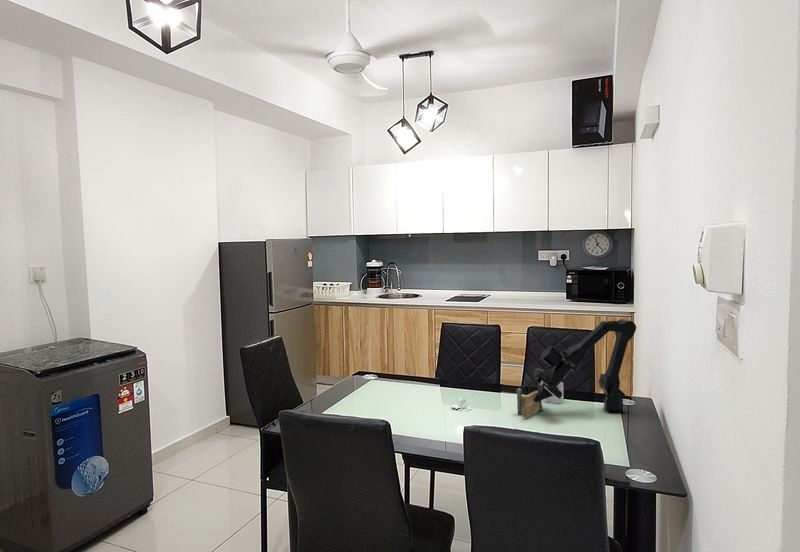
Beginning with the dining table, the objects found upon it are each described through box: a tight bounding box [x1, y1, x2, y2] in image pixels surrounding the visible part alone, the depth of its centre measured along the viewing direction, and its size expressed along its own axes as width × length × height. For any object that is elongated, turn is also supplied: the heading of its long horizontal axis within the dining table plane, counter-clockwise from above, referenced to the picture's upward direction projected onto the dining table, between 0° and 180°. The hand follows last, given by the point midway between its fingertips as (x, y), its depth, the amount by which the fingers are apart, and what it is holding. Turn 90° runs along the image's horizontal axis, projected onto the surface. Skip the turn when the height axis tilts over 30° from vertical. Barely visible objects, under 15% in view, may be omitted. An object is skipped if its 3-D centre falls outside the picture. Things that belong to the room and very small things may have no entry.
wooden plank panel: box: [521, 389, 543, 418], centre depth 211 cm, size 2×14×8 cm, turn 137°
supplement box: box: [544, 382, 564, 404], centre depth 228 cm, size 7×7×13 cm
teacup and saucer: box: [450, 398, 470, 409], centre depth 224 cm, size 9×8×4 cm
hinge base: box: [537, 405, 544, 413], centre depth 216 cm, size 3×3×2 cm
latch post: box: [516, 387, 523, 416], centre depth 212 cm, size 2×2×11 cm
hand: (535, 401), depth 210 cm, fingers closed
